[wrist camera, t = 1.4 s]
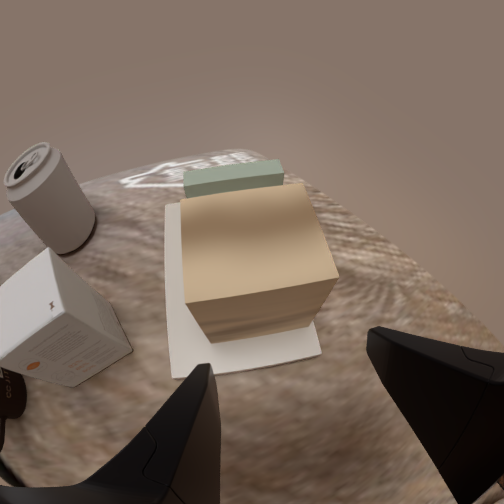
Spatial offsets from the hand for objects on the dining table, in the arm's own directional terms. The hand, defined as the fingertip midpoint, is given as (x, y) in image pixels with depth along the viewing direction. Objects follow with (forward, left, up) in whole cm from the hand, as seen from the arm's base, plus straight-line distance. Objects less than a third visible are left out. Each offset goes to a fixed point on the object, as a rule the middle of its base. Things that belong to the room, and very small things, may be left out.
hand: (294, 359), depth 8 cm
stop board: (+17, -5, -13) cm, 22 cm away
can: (+24, +14, -14) cm, 31 cm away
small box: (+9, +14, -14) cm, 22 cm away
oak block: (+7, -2, -13) cm, 15 cm away
